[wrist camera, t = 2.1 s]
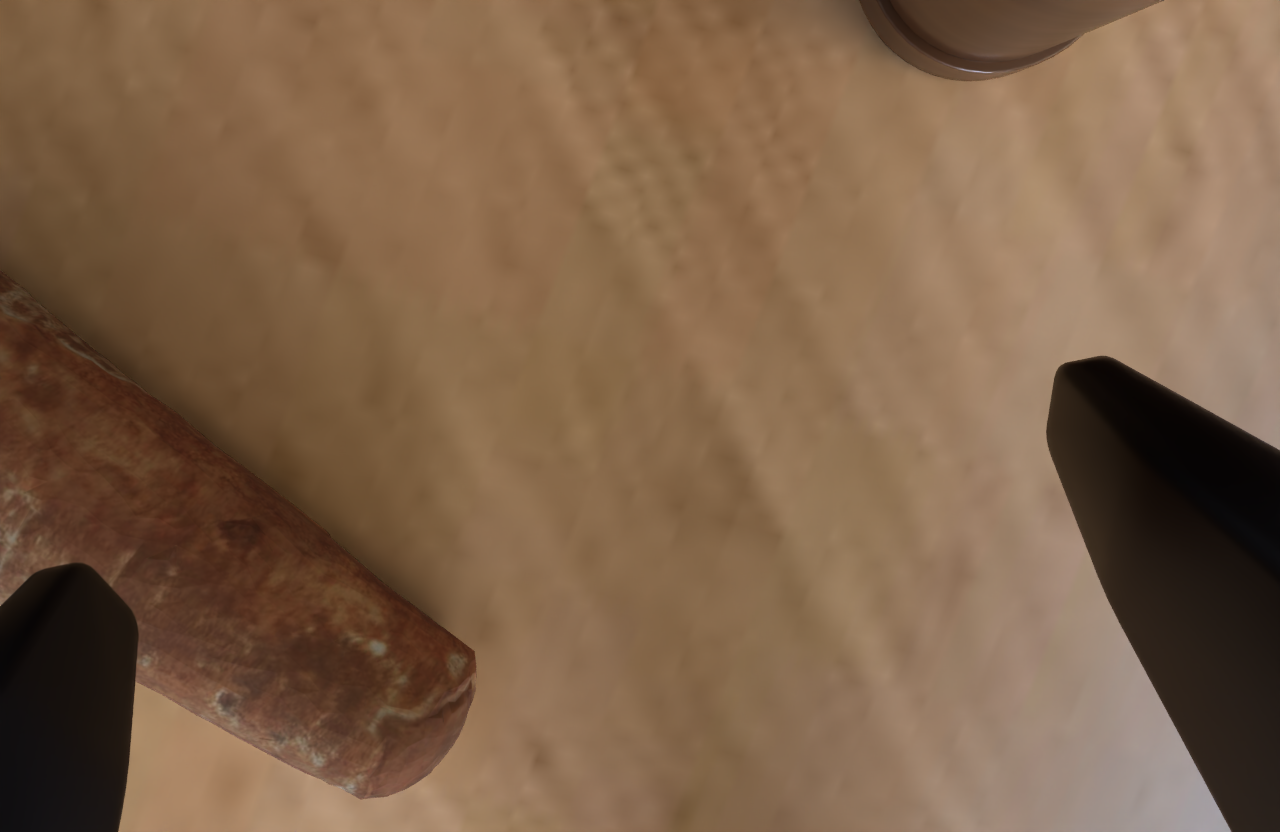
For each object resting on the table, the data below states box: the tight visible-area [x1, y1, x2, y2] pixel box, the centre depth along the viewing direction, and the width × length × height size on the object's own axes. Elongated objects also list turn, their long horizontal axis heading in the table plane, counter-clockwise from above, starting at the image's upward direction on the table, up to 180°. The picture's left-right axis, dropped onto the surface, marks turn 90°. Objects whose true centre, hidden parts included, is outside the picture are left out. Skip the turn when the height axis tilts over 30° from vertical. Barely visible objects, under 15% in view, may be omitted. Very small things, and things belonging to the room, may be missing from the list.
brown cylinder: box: [0, 271, 477, 799], centre depth 20 cm, size 6×19×6 cm, turn 49°
